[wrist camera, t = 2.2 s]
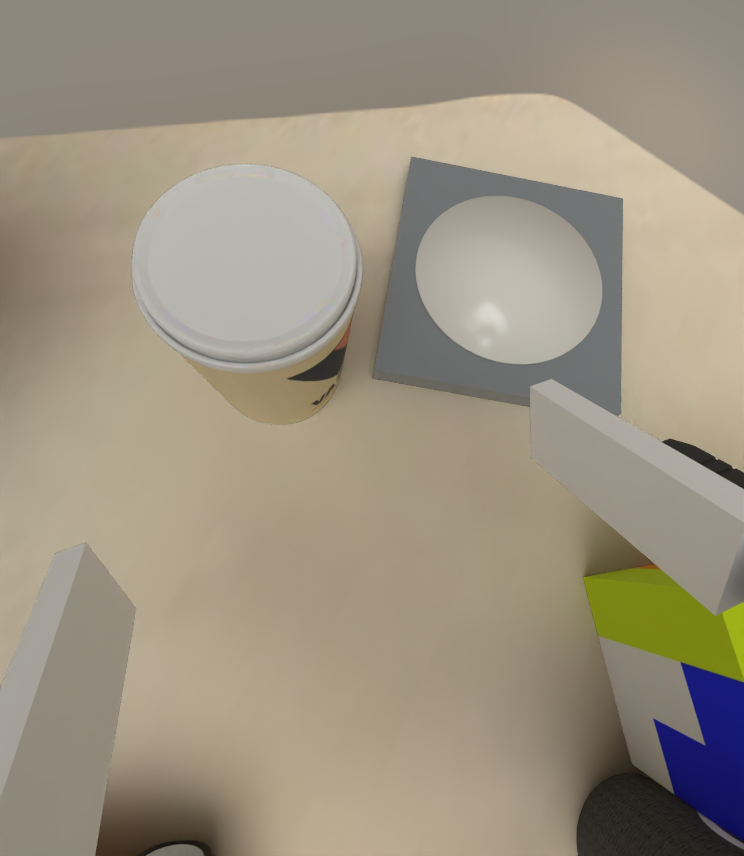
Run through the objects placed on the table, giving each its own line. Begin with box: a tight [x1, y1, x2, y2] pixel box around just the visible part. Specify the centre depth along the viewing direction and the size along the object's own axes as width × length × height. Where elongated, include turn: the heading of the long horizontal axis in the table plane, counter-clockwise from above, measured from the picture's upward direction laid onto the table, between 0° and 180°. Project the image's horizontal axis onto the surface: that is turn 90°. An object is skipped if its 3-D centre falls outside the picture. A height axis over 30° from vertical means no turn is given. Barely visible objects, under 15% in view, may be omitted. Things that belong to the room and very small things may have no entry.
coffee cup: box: [131, 164, 363, 425], centre depth 24 cm, size 9×9×12 cm
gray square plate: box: [373, 157, 623, 416], centre depth 31 cm, size 16×17×2 cm
